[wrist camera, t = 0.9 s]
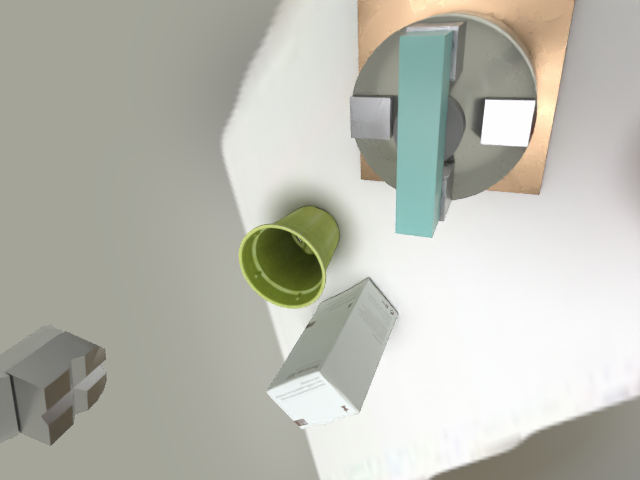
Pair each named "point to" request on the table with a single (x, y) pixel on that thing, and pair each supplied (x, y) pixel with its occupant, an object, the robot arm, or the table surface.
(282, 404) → the skincare box
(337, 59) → the table surface
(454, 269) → the table surface
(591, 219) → the table surface
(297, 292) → the plant pot
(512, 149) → the socket
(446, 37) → the teal rectangular stick
